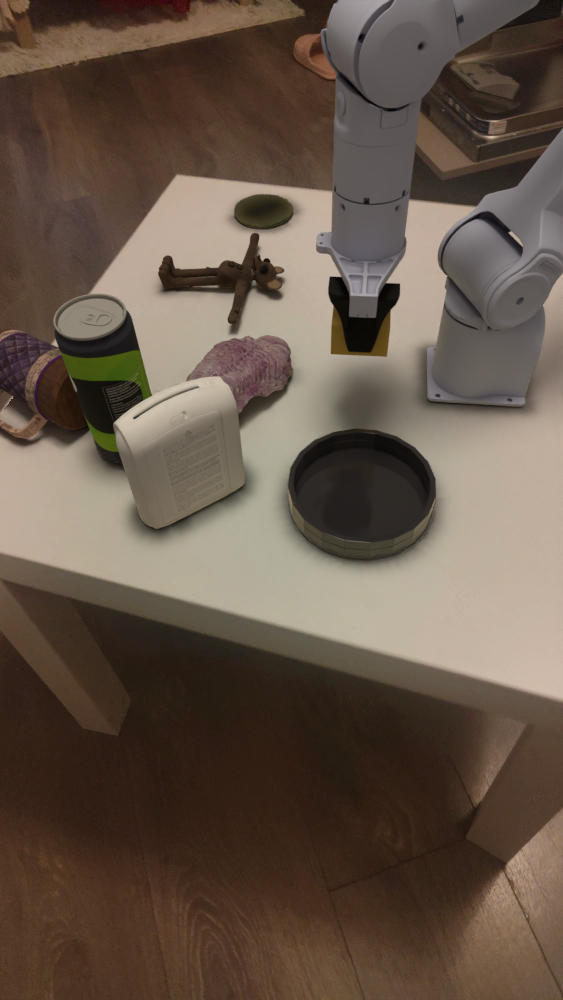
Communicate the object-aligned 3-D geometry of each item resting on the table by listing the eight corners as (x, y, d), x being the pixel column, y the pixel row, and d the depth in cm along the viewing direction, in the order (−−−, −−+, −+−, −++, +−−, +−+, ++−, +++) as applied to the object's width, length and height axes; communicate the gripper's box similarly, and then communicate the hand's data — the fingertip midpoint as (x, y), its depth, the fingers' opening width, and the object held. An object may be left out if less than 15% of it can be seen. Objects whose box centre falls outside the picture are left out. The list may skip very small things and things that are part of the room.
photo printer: (229, 456, 62) (214, 354, 53) (253, 485, 60) (242, 383, 50) (131, 506, 59) (96, 406, 49) (152, 538, 57) (120, 441, 47)
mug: (122, 381, 66) (43, 342, 71) (79, 348, 59) (-5, 308, 64) (70, 469, 65) (-5, 424, 70) (21, 446, 59) (-59, 398, 64)
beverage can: (170, 424, 65) (139, 294, 53) (151, 472, 61) (113, 343, 49) (111, 417, 66) (67, 288, 54) (88, 464, 62) (36, 336, 50)
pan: (430, 452, 62) (434, 433, 60) (432, 566, 54) (437, 548, 52) (297, 443, 63) (297, 424, 61) (281, 552, 56) (279, 535, 54)
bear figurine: (176, 220, 83) (289, 213, 80) (184, 251, 86) (293, 245, 84) (140, 306, 72) (269, 302, 70) (151, 338, 76) (275, 334, 73)
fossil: (166, 415, 66) (156, 375, 62) (252, 340, 73) (248, 300, 69) (229, 448, 63) (223, 408, 59) (313, 367, 70) (312, 326, 66)
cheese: (387, 332, 60) (390, 303, 58) (386, 357, 58) (390, 327, 56) (333, 330, 61) (333, 301, 58) (330, 354, 59) (331, 325, 56)
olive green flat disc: (283, 227, 85) (283, 232, 86) (300, 197, 90) (300, 203, 91) (225, 219, 87) (226, 224, 88) (245, 190, 92) (246, 195, 92)
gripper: (324, 138, 53) (322, 285, 64) (308, 237, 44) (308, 388, 55) (413, 140, 52) (395, 288, 63) (414, 240, 44) (394, 392, 54)
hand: (360, 335), depth 59 cm, fingers closed on cheese, 3 cm apart
